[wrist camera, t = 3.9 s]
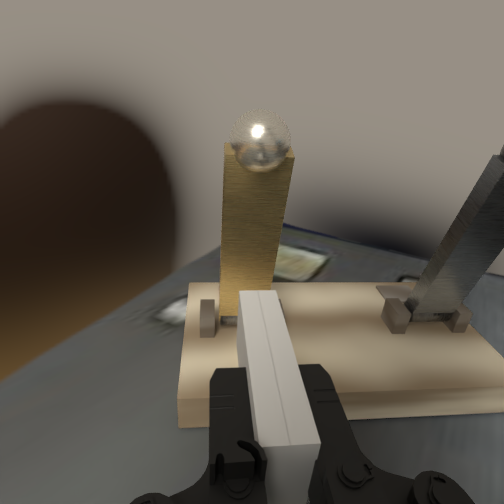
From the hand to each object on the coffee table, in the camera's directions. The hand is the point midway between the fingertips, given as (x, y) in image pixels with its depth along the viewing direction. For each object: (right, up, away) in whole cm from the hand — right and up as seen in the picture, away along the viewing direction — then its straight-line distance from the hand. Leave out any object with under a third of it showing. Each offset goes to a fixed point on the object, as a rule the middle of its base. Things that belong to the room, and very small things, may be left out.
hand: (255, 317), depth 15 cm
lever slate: (+13, -2, +12) cm, 18 cm away
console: (+6, -5, +13) cm, 15 cm away
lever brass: (-1, -2, +10) cm, 10 cm away
